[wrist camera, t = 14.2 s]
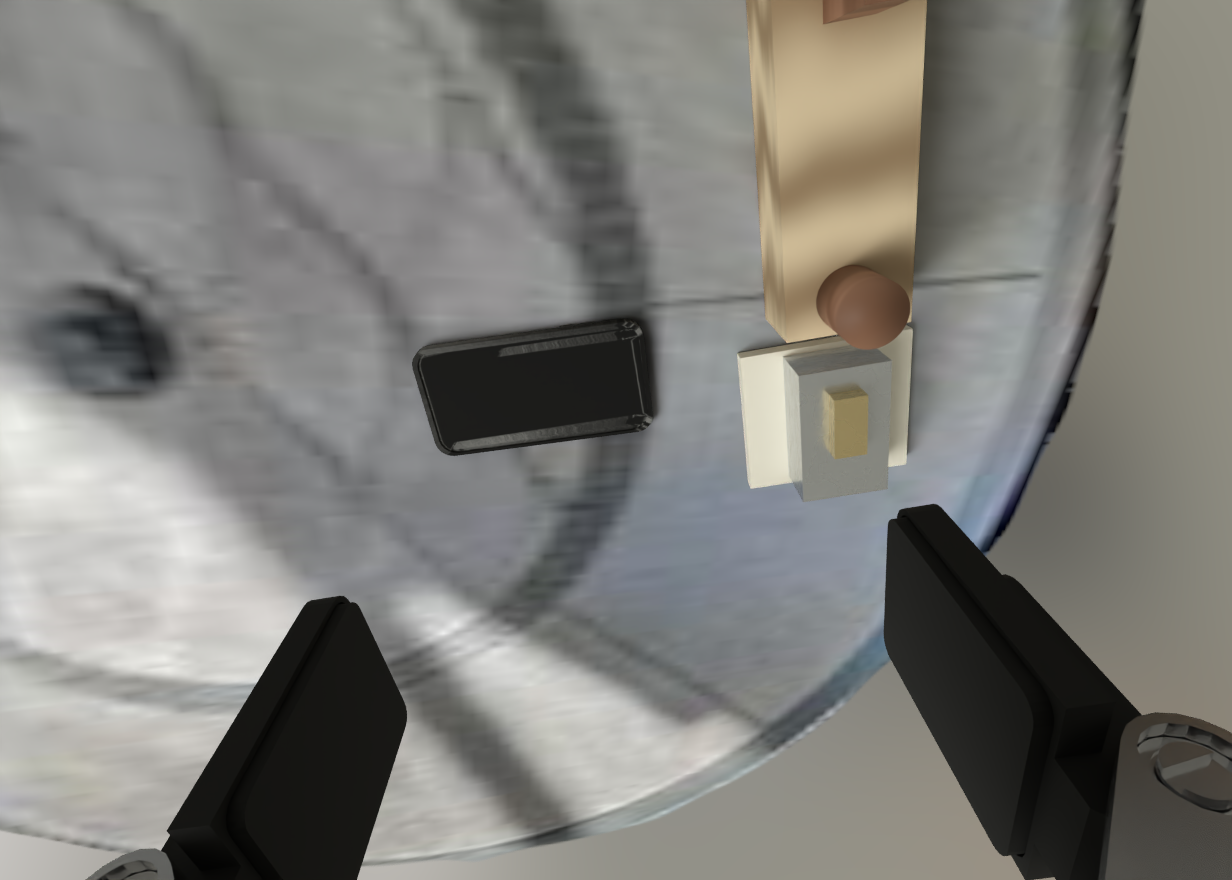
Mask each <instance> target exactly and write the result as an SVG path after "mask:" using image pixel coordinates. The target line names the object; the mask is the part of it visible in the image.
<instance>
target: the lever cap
mask: <svg viewBox="0 0 1232 880" xmlns="http://www.w3.org/2000/svg"><path fill="white" fill-rule="evenodd" d="M783 370H784V390H785V410H786V431H787V451H788V471H789V477H790V479H791V480H792V482H793V484H794V486H795V488H796V490H797V491H798V493H799V495H800V497H801V499H802V501H803V502H807V501H814V500H820V499H827V498H833V497H839V496H846V495H852V494H859V493H865V492H871V491H878V490H884V489H887V488H888V460H889V432H890V404H891V376H892V360H891V359H889V358H888V357H887V356H886V355H884V354H883V353H882V352H881V351H879V350H878V349H877V348H876V349H870V350H864V349H859V348H855V347H853V346H851V345H848V346H842V347H837V348H831V349H825V350H819V351H813V352H807V353H801V354H795V355H789V356H783Z"/></svg>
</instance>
